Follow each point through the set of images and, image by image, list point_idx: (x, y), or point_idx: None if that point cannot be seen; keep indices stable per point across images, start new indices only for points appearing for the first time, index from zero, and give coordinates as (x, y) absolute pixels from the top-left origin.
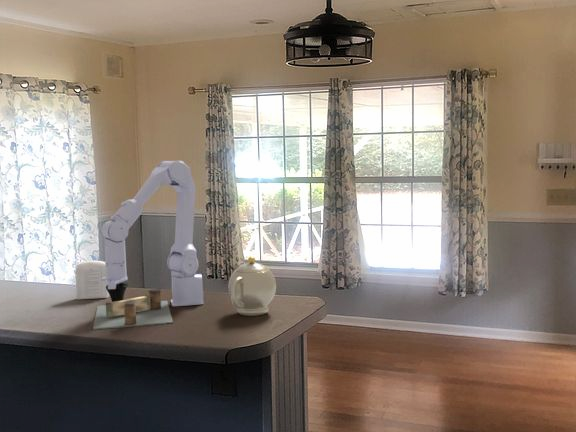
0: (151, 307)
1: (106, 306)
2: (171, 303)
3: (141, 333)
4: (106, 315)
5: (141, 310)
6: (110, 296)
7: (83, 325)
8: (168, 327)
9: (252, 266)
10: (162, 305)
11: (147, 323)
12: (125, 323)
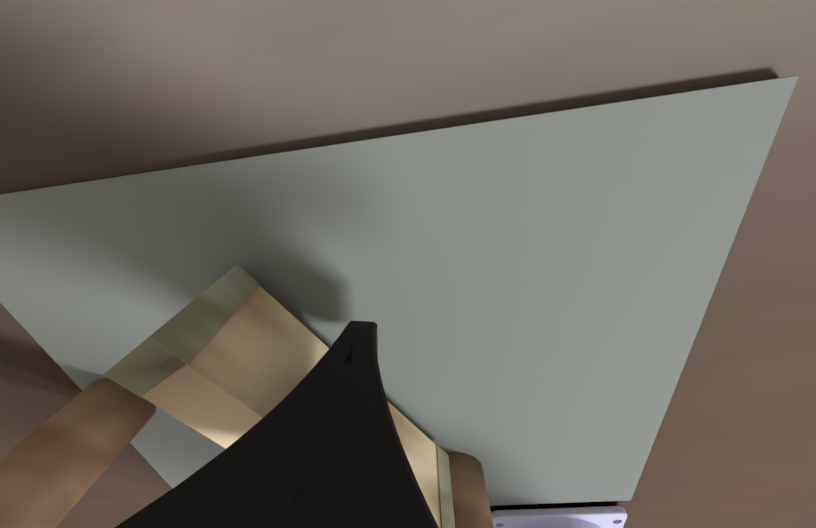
0: None
1: (171, 320)
2: (542, 513)
3: (8, 437)
4: (233, 267)
5: None
6: (264, 416)
7: (18, 86)
8: (137, 499)
9: None
10: (519, 488)
11: (148, 455)
12: (86, 388)
